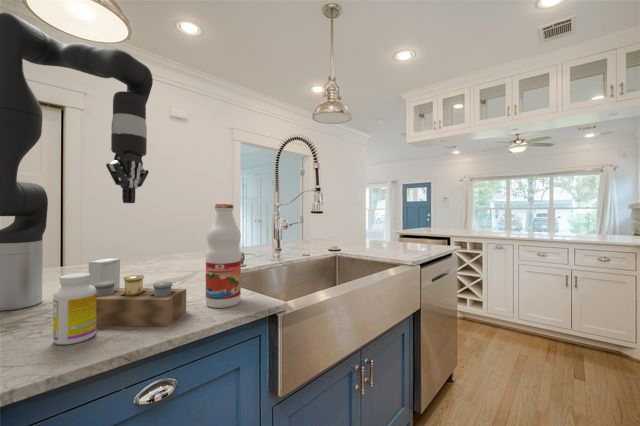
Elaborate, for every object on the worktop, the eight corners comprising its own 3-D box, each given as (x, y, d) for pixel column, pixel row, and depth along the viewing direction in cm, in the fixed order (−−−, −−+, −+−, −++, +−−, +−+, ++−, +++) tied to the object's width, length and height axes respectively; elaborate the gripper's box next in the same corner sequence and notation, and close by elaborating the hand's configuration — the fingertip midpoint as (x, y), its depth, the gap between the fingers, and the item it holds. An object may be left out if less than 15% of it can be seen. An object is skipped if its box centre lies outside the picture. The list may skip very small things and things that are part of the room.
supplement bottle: (104, 331, 61) (104, 271, 61) (79, 346, 54) (79, 279, 54) (72, 331, 61) (72, 271, 61) (43, 346, 54) (43, 279, 54)
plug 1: (89, 315, 66) (90, 285, 66) (102, 309, 70) (103, 280, 70) (106, 315, 66) (107, 285, 66) (119, 309, 70) (119, 281, 70)
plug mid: (119, 308, 66) (119, 278, 66) (131, 303, 70) (131, 274, 70) (136, 309, 66) (136, 278, 66) (147, 303, 70) (147, 274, 70)
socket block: (74, 325, 64) (74, 298, 64) (104, 311, 73) (104, 287, 73) (167, 326, 64) (167, 299, 64) (186, 312, 73) (186, 288, 73)
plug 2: (149, 315, 66) (149, 285, 66) (159, 309, 70) (159, 281, 70) (166, 316, 66) (166, 285, 66) (175, 310, 70) (175, 281, 70)
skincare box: (100, 306, 76) (100, 262, 76) (87, 305, 77) (87, 261, 77) (120, 300, 82) (120, 258, 82) (108, 299, 83) (108, 258, 83)
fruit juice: (244, 298, 85) (245, 204, 85) (235, 309, 76) (236, 204, 75) (212, 297, 85) (213, 204, 85) (199, 308, 76) (200, 203, 75)
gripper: (132, 141, 79) (131, 203, 79) (94, 127, 66) (93, 202, 66) (159, 142, 79) (158, 204, 79) (126, 128, 66) (125, 202, 66)
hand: (128, 203), depth 73 cm, fingers closed
